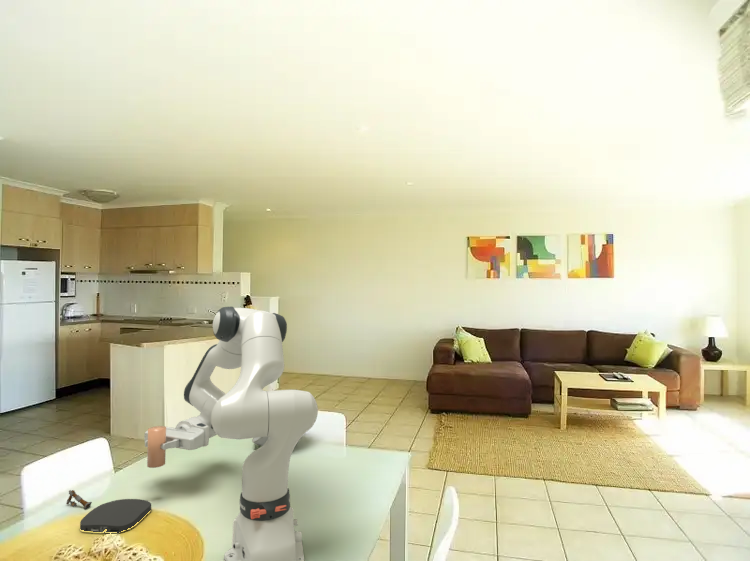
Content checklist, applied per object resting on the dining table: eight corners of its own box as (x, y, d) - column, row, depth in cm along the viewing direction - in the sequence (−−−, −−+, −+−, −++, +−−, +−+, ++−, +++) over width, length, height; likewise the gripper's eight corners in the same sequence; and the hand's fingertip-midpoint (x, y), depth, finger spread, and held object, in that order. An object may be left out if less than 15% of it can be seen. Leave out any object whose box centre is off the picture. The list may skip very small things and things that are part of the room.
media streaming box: (156, 508, 130) (156, 498, 130) (127, 535, 116) (127, 524, 116) (107, 507, 131) (108, 497, 131) (72, 534, 116) (73, 523, 116)
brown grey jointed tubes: (67, 500, 132) (73, 487, 132) (86, 514, 130) (92, 501, 130) (62, 503, 131) (67, 489, 130) (81, 517, 129) (86, 504, 128)
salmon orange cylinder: (165, 466, 134) (165, 429, 134) (146, 468, 132) (147, 431, 132) (165, 460, 139) (166, 425, 139) (147, 462, 137) (148, 427, 137)
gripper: (165, 419, 151) (129, 431, 139) (212, 426, 144) (179, 439, 131) (164, 438, 151) (129, 451, 138) (212, 445, 144) (179, 460, 131)
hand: (154, 445), depth 135 cm, fingers closed on salmon orange cylinder, 5 cm apart
